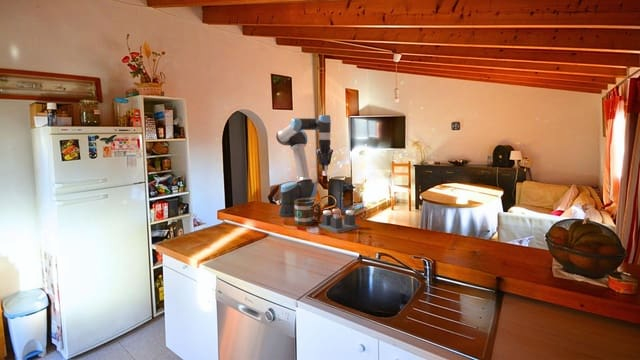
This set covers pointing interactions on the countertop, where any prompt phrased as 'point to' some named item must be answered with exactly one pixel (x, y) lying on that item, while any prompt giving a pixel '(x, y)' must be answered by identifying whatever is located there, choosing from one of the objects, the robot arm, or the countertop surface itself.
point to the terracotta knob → (336, 212)
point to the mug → (305, 212)
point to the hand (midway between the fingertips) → (324, 175)
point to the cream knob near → (327, 212)
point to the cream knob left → (349, 212)
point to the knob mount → (338, 223)
